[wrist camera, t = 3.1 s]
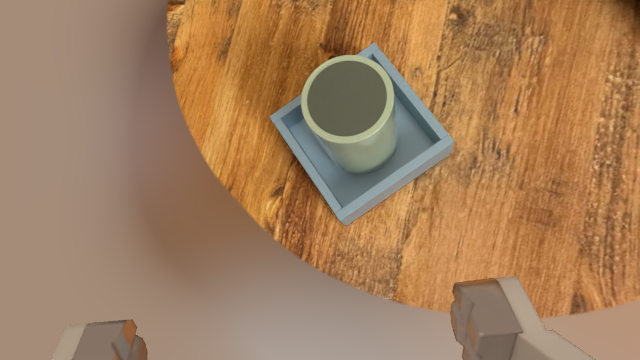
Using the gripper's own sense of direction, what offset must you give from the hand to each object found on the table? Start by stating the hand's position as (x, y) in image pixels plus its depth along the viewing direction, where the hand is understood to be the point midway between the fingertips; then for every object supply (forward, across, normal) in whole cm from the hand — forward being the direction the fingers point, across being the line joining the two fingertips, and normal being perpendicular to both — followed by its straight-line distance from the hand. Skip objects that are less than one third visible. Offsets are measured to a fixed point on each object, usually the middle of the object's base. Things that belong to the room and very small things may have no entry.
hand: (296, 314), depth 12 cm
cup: (+29, -5, +13) cm, 33 cm away
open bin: (+30, -6, +14) cm, 33 cm away
